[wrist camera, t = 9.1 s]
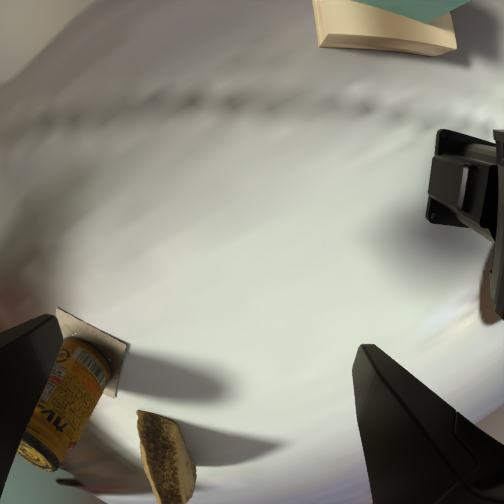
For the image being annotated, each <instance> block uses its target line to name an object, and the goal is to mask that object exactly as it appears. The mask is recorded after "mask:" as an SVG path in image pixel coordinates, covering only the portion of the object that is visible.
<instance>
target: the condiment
mask: <svg viewBox="0 0 504 504" xmlns="http://www.w3.org/2000/svg"><path fill="white" fill-rule="evenodd" d="M56 317H57V319H58V321H59V325H60V328H61V331H62V335H63V345H62V348H61V350H60V353H59V355H58V358H57V360H56V363H55V365H54V368H53V370H52V373H51V376H50V378H49V381H48V383H47V385H46V387H45V389H44V391H43V393H42V396H41V398H40V400H39V402H38V404H37V406H36V408H35V411H34V413H33V415H32V417H31V419H30V422H29V424H28V426H27V429H26V431H25V433H24V436H23V438H22V440H21V443H20V445H19V448H18V450H17V453H18V454H19V455H20V456H21V457H23V458H24V459H25V460H27V461H28V462H30V463H31V464H33V465H35V466H36V467H38V468H40V469H42V470H45V471H50V472H54V471H56V470H57V469H58V468H59V467H60V464H61V461H62V460H63V459H64V458H65V456H66V452H67V451H70V450H72V449H73V448H74V447H75V445H76V444H77V442H78V440H79V438H80V435H81V434H82V432H83V429H84V427H85V426H86V424H87V422H88V420H89V418H90V416H91V414H92V412H93V410H94V408H95V406H96V405H97V403H98V401H99V399H100V397H101V395H102V393H104V394H105V395H107V396H109V397H112V398H114V397H115V392H116V388H117V384H118V379H119V374H120V369H121V366H122V362H123V358H124V353H125V349H126V345H125V344H123V343H121V342H119V341H118V340H117V339H115V338H113V337H111V336H109V335H107V334H105V333H103V332H101V331H100V330H98V329H96V328H94V327H92V326H90V325H88V324H86V322H84V321H81V320H78V319H76V318H74V317H73V316H71V315H70V314H68V313H65V312H63V311H62V310H60V309H58V308H56ZM74 333H77V334H74ZM72 334H74V336H72ZM109 359H110V360H109Z"/></svg>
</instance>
